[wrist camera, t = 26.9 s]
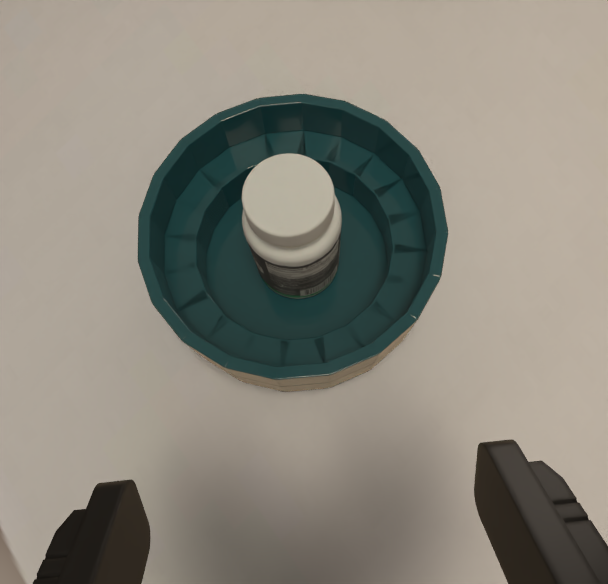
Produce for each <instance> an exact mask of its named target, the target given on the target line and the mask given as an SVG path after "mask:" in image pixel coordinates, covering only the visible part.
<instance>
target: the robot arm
mask: <svg viewBox="0 0 608 584" xmlns="http://www.w3.org/2000/svg"><path fill="white" fill-rule="evenodd" d="M474 495H475V502H476V506H477V510H478V513H479V516H480V519H481V521H482V524H483V526H484V528H485V531H486V533H487V535H488V538H489V540H490V542H491V544H492V547H493V549H494V551H495V554H496V556H497V558H498V561H499V563H500V565H501V568H502V570H503V572H504V575H505V577H506V579H507V582H508V584H608V546H607V544H606V543H605V541H604V540H603V538H602V537H601V535H600V534H599V532H598V531H597V529H596V528H595V526H594V525H593V523H592V522H591V520H589V519H588V515H587V514H586V512H585V511H584V509H583V508H582V506H581V505H580V503H577V500H576V497H575V496H574V494H573V493H572V491H571V490H570V488H569V486H568V485H567V483H566V482H565V480H564V479H563V477H561V476H560V475H559V474H558V473H556V472H555V471H554V470H553V469H551V468H550V467H549V466H548V465H546V464H545V463H544V462H543V461H534V462H528V461H527V459H526V457H525V456H524V454H523V452H522V451H521V449H520V447H519V446H518V444H517V443H516V442H515V441H514V440H502V441H493V442H484V443H480V444H479V445H478V451H477V462H476V474H475V485H474ZM149 549H150V526H149V522H148V519H147V516H146V513H145V510H144V507H143V504H142V502H141V499H140V496H139V493H138V490H137V487H136V484H135V482H134V481H133V480H123V481H114V482H105V483H99V484H97V485H96V487H95V488H94V490H93V493H92V495H91V498H90V500H89V503H88V505H87V508H86V509H82V510H74V511H73V512H72V513H71V514H70V516H69V517H68V518H67V519H66V520H65V521H64V523H63V524H62V525H61V526H60V527H59V528H58V530H57V531H56V532H55V534H54V537H53V539H52V541H51V544H50V546H49V548H48V550H47V553H46V558H45V560H43V562H42V564H41V566H40V568H39V571H38V573H37V579H36V580H34V582H33V584H141V583H142V579H143V575H144V571H145V566H146V562H147V558H148V554H149Z"/></svg>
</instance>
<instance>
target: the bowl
mask: <svg viewBox="0 0 608 584" xmlns="http://www.w3.org/2000/svg"><path fill="white" fill-rule="evenodd" d="M287 153H293V154H300V155H304V156H306V157H309V158H311V159H313V160H315V161H316V162H318V163H319V164H320V165H321V166H322V167H323V168H324V169H325V170H326V171H327V173H328V174H329V176H330V178H331V180H332V183H333V186H334V194H335V196H336V198H337V200H338V202H339V205H340V209H341V215H342V224H341V236H340V252H339V264H338V269H337V272H336V275H335V277H334V279H333V280H332V282H331V283H330V284H329V285H328V286H327V287H326V288H325V289H324V290H323V291H321V292H320V293H318V294H316V295H314V296H311V297H307V298H301V299H295V298H288V297H284V296H282V295H279V294H278V293H276V292H274V291H273V290H272V289H270V288H269V287H268V286H267V284H266V283H265V282H264V281H263V279H262V277H261V275H260V273H259V271H258V268H257V265H256V263H255V260H254V257H253V255H252V252H251V250H250V247H249V245H248V243H247V240H246V238H245V235H244V231H243V226H242V213H243V204H242V190H243V185H244V182H245V180H246V178H247V176H248V175H249V173H250V172H251V171H252V170H253V168H254V167H255V166H257V165H258V164H259V163H260V162H262V161H263V160H265V159H267V158H270V157H272V156H275V155H279V154H287ZM447 238H448V227H447V222H446V217H445V211H444V206H443V200H442V195H441V190H440V186H439V185H438V183H437V181H436V179H435V178H434V176H433V174H432V172H431V171H430V169H429V167H428V165H427V164H426V162H425V160H424V158H423V157H422V155H421V153H420V151H419V150H418V149H417V148H416V147H415V146H414V145H413V144H412V143H411V142H409V141H408V140H407V139H406V138H405V137H404V136H403V135H402V134H401V133H400V132H398V131H397V130H396V129H395V128H394V127H393V126H392V125H391V124H390V123H389V122H387V121H385V120H384V119H382V118H380V117H378V116H376V115H374V114H372V113H370V112H368V111H365V110H363V109H361V108H359V107H357V106H355V105H353V104H351V103H349V102H346V101H342V100H337V99H331V98H325V97H319V96H313V95H307V94H295V95H284V96H274V97H263V98H259V99H258V98H257V99H254V100H251V101H249V102H246V103H243V104H241V105H238V106H235V107H233V108H230V109H227V110H225V111H222V112H219V113H217V114H215V115H214V116H212V117H211V118H210V119H208V120H207V121H205V122H204V123H203V124H201V125H200V126H199V127H197V128H196V129H194V130H193V131H192V132H190V133H189V134H188V135H186V136H185V137H183V138H182V139H181V140H180V141H179V142H178V144H177V145H176V146H175V147H174V149H173V150H172V151H171V153H170V154H169V155H168V156H167V158H166V159H165V160H164V162H163V163H162V164H161V166H160V167H159V168H158V169H157V171H156V172H155V173H154V175H153V178H152V180H151V183H150V186H149V189H148V191H147V194H146V197H145V200H144V202H143V205H142V208H141V211H140V213H139V220H138V263H139V266H140V269H141V272H142V275H143V278H144V281H145V284H146V287H147V290H148V293H149V296H150V299H151V302H152V304H153V305H154V307H155V308H156V309H157V310H158V312H159V313H160V314H161V315H162V317H163V318H164V319H165V320H166V322H167V323H168V324H169V325H170V327H171V328H172V329H173V331H174V332H175V333H176V334H177V336H178V337H179V338H180V339H181V340H182V341H183V342H184V343H185V344H186V345H188V346H189V347H190V348H192V349H193V350H194V351H195V352H197V353H198V354H199V355H201V356H202V357H203V358H205V359H206V360H207V361H209V362H211V363H212V364H214V365H215V366H217V367H219V368H220V369H222V370H223V371H225V372H227V373H228V374H230V375H231V376H233V377H235V378H236V379H238V380H239V381H242V382H244V383H248V384H253V385H257V386H261V387H265V388H270V389H274V390H278V391H282V392H284V391H285V392H290V391H302V390H313V389H325V388H329V387H333V386H335V385H337V384H340V383H342V382H344V381H347V380H349V379H351V378H354V377H356V376H358V375H361V374H363V373H365V372H368V371H369V370H371V369H372V368H373V367H374V366H375V365H377V364H378V363H379V362H380V361H381V360H382V359H383V358H384V357H385V356H387V355H388V354H389V353H390V352H391V351H392V350H393V349H394V348H396V347H397V346H398V345H399V344H400V343H401V342H402V341H403V339H404V338H405V337H406V335H407V334H408V332H409V331H410V330H411V328H412V327H413V325H414V324H415V323H416V321H417V320H418V318H419V316H420V315H421V313H422V311H423V309H424V307H425V306H426V304H427V302H428V300H429V298H430V297H431V295H432V293H433V291H434V289H435V288H436V286H437V284H438V282H439V280H440V277H441V274H442V268H443V262H444V256H445V250H446V244H447Z"/></svg>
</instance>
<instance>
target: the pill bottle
mask: <svg viewBox="0 0 608 584" xmlns="http://www.w3.org/2000/svg"><path fill="white" fill-rule="evenodd" d="M242 204H243V213H242V226H243V231H244V235H245V238H246V240H247V243H248V245H249V247H250V250H251V252H252V255H253V257H254V260H255V263H256V265H257V268H258V271H259V273H260V275H261V277H262V279H263V281H264V282H265V283H266V284H267V286H268V287H269V288H270V289H272V290H273V291H274V292H276V293H278V294H279V295H282V296H284V297H288V298H295V299H301V298H307V297H311V296H314V295H316V294H318V293H320V292H321V291H323V290H324V289H325V288H326V287H327V286H328V285H329V284H330V283H331V282H332V280H333V279H334V277H335V275H336V272H337V269H338V264H339V252H340V236H341V224H342V215H341V209H340V205H339V202H338V200H337V198H336V196H335V194H334V186H333V183H332V180H331V178H330V176H329V174H328V173H327V171H326V170H325V169H324V168H323V167H322V166H321V165H320V164H319V163H318V162H316V161H315V160H313V159H311V158H309V157H306V156H304V155H300V154H293V153H287V154H279V155H275V156H272V157H270V158H267V159H265V160H263V161H262V162H260V163H259V164H258V165H257V166H255V167H254V168H253V170H252V171H251V172H250V173H249V175H248V176H247V178H246V180H245V182H244V185H243V190H242Z"/></svg>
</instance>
